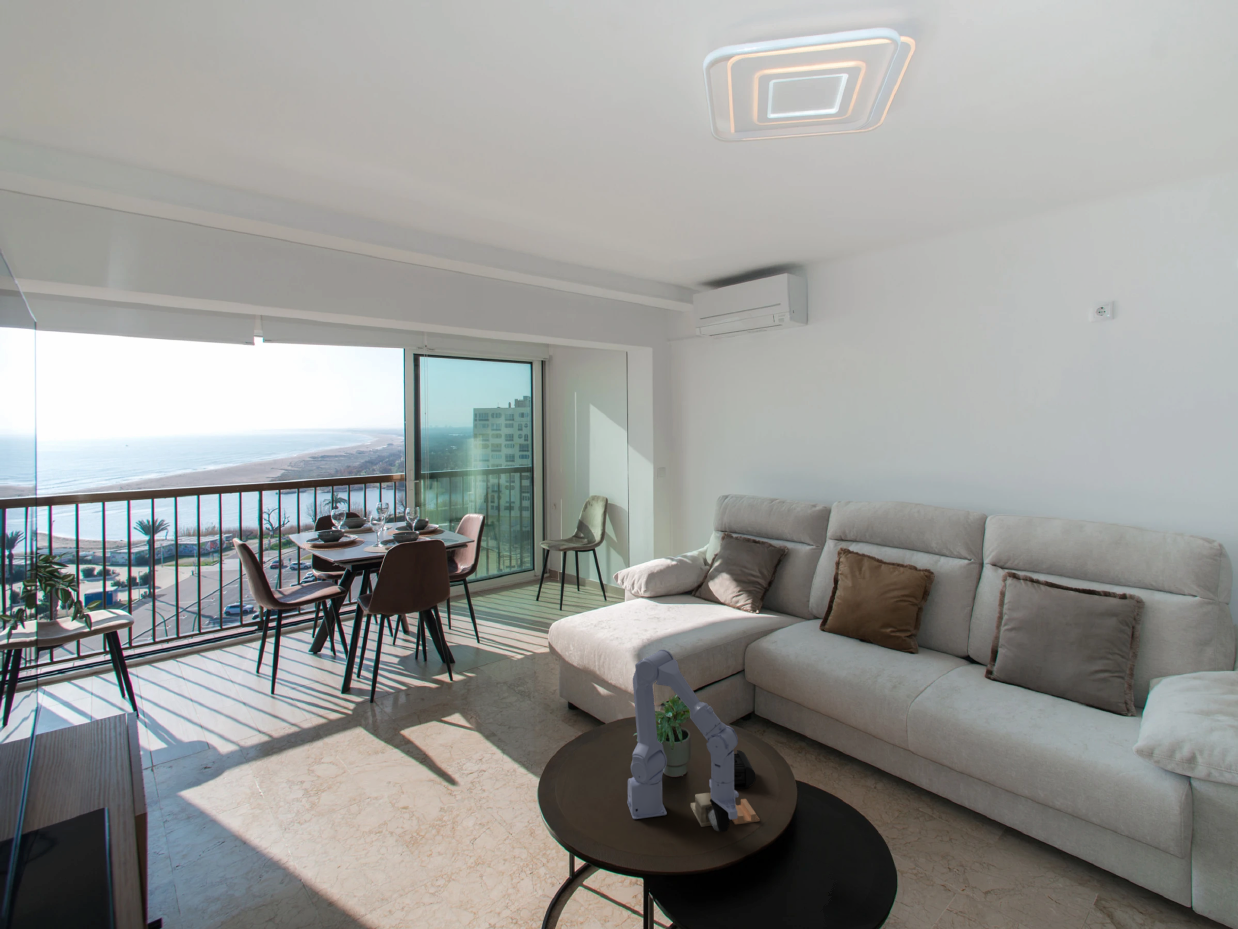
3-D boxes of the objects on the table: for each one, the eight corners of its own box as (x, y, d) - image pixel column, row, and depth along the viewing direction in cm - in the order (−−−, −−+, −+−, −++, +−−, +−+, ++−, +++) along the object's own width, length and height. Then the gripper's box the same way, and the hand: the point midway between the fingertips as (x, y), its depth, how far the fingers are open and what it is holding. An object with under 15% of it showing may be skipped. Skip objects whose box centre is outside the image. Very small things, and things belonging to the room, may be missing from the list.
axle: (725, 830, 155) (725, 816, 154) (712, 832, 154) (712, 818, 154) (712, 807, 164) (712, 794, 164) (700, 808, 164) (699, 796, 164)
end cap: (756, 789, 174) (756, 766, 174) (732, 790, 174) (732, 767, 174) (746, 771, 184) (746, 749, 184) (724, 772, 184) (723, 750, 184)
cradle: (734, 824, 158) (734, 816, 158) (725, 809, 165) (725, 801, 165) (759, 821, 160) (759, 813, 160) (748, 805, 166) (748, 798, 166)
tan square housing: (701, 826, 158) (701, 805, 157) (690, 806, 166) (690, 786, 166) (726, 823, 159) (726, 802, 159) (714, 803, 168) (714, 783, 168)
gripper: (749, 791, 145) (749, 846, 145) (727, 760, 159) (727, 810, 159) (721, 795, 143) (721, 850, 144) (701, 763, 158) (702, 814, 158)
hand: (722, 829), depth 152 cm, fingers closed
